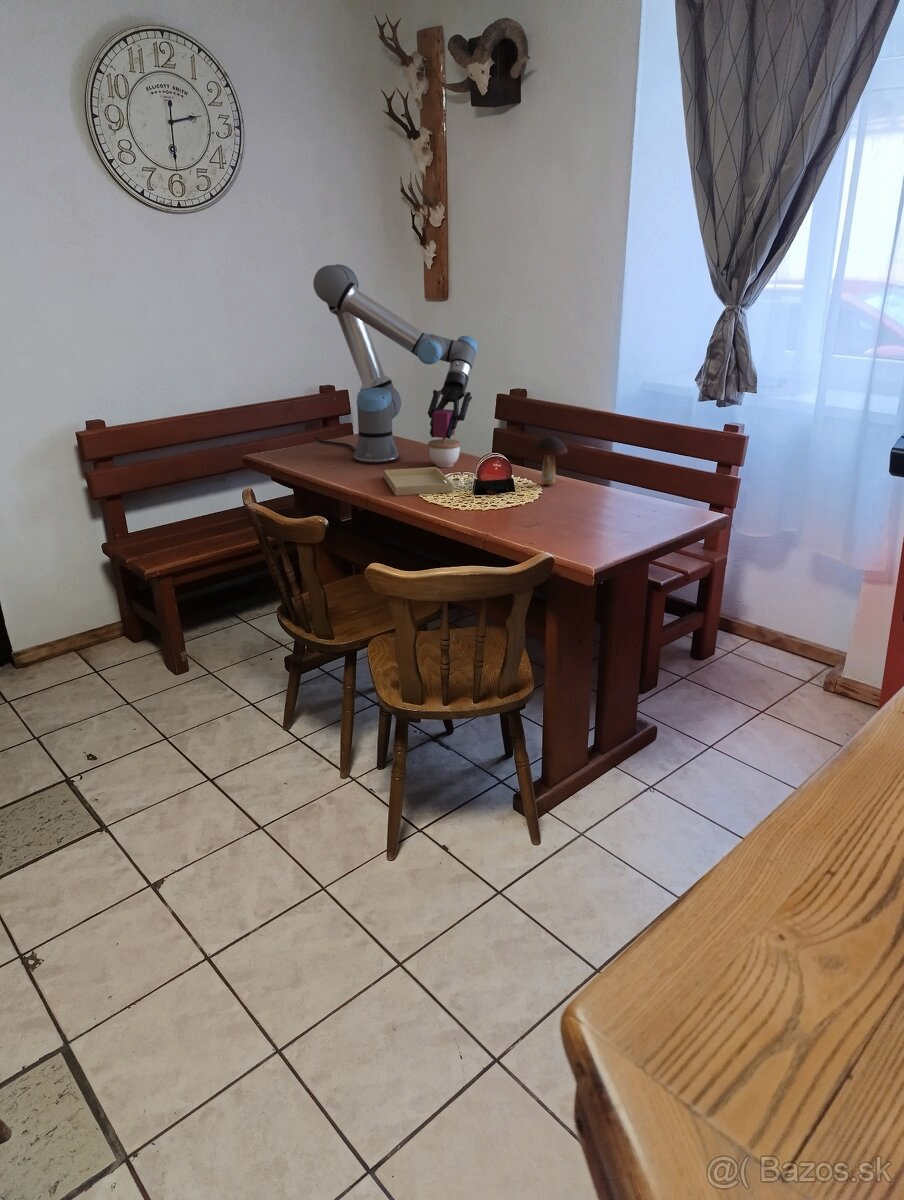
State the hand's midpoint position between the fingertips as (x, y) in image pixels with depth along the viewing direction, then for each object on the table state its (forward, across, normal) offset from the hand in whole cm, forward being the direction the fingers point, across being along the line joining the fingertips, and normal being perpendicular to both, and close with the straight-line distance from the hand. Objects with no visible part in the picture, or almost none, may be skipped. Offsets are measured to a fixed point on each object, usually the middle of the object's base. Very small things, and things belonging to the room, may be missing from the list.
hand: (439, 435), depth 267 cm
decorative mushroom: (+14, +39, +1) cm, 42 cm away
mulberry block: (-2, 0, +3) cm, 4 cm away
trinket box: (+5, 0, +10) cm, 11 cm away
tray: (+24, +2, -9) cm, 26 cm away
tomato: (+23, +26, -8) cm, 36 cm away
